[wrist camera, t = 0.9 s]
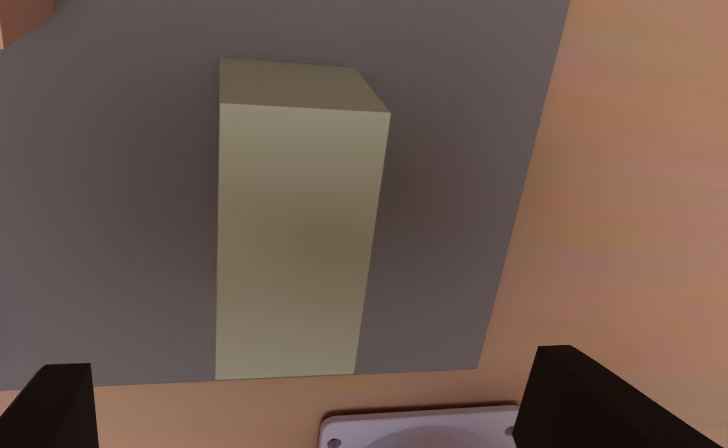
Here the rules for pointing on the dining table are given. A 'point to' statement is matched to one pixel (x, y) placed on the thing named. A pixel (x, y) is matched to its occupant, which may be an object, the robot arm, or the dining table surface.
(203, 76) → the mat
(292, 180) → the beige brick
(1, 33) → the terracotta brick
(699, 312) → the dining table surface
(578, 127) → the dining table surface
